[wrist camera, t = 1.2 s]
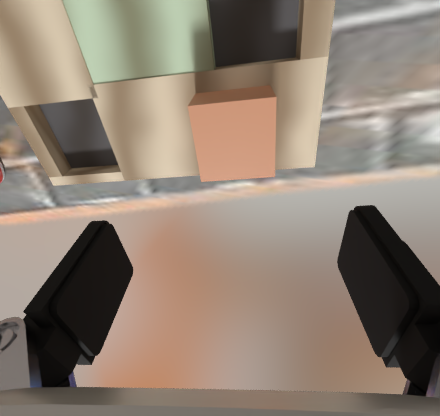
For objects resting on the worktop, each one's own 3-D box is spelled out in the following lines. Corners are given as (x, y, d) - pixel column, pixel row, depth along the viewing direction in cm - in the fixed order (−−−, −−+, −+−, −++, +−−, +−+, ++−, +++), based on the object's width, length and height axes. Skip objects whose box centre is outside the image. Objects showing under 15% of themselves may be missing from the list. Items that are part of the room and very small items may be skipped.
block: (270, 85, 19) (276, 96, 16) (269, 155, 23) (274, 176, 20) (195, 93, 20) (187, 106, 17) (206, 160, 24) (201, 181, 20)
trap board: (337, -99, 15) (349, -114, 13) (309, 157, 25) (314, 166, 23) (-47, -27, 18) (-75, -33, 16) (64, 176, 28) (53, 185, 26)
